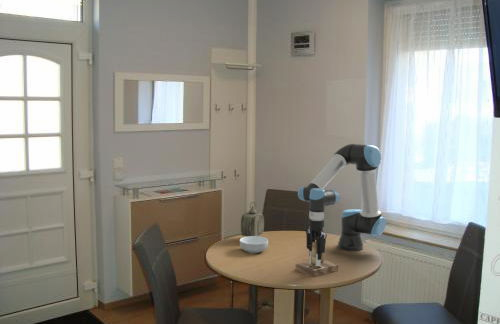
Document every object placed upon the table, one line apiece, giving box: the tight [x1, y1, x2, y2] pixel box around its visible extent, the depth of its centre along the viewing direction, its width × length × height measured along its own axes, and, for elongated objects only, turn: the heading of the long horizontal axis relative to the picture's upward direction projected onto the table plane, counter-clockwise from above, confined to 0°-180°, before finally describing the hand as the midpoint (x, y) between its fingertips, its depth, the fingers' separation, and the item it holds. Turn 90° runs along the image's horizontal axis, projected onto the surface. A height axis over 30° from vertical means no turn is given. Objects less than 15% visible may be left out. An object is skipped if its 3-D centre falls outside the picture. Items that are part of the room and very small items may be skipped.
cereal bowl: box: [239, 235, 269, 254], centre depth 292 cm, size 17×17×7 cm
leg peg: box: [311, 241, 319, 269], centre depth 254 cm, size 4×4×14 cm
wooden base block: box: [294, 253, 339, 278], centre depth 259 cm, size 18×13×14 cm
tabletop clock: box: [240, 201, 265, 237], centre depth 312 cm, size 14×9×25 cm, turn 150°
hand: (315, 264), depth 255 cm, fingers closed on leg peg, 4 cm apart
